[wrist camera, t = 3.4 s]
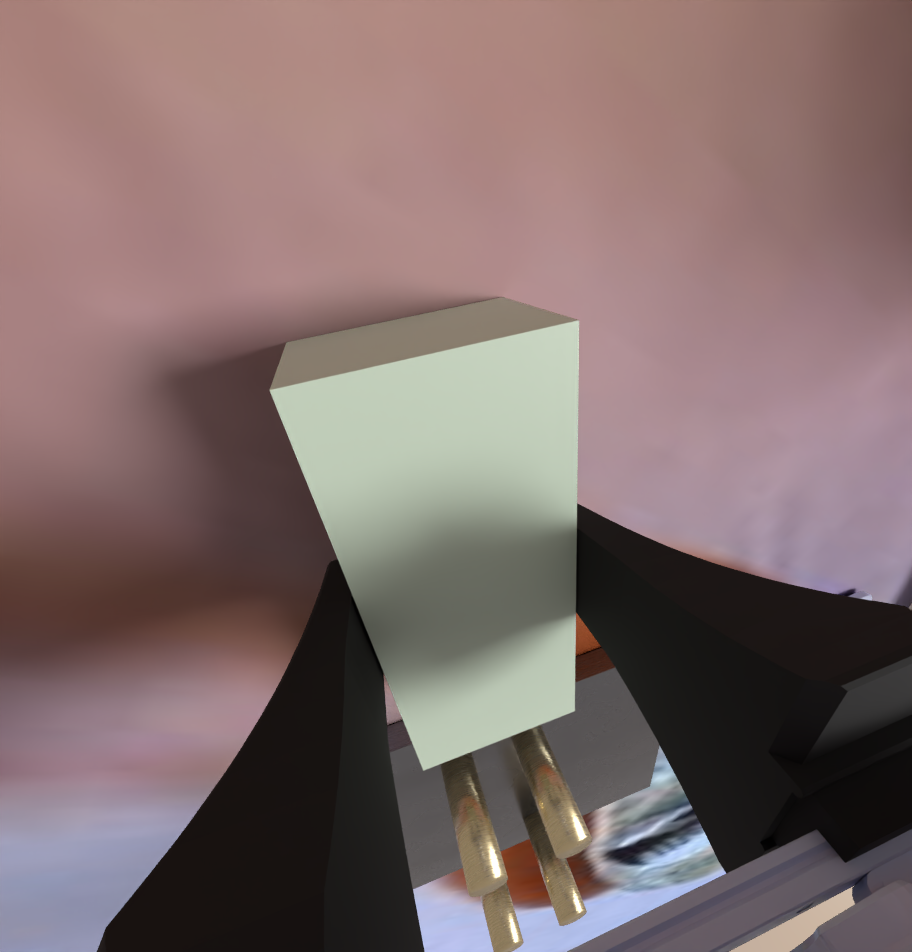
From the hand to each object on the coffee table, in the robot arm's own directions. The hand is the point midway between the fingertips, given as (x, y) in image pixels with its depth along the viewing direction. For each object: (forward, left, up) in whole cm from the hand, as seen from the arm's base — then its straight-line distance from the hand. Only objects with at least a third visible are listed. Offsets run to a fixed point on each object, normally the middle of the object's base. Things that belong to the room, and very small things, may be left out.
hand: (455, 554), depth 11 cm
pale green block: (0, 0, -2) cm, 2 cm away
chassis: (0, +16, -1) cm, 16 cm away
